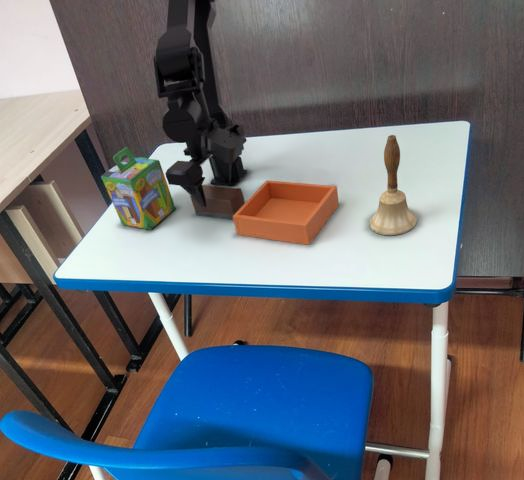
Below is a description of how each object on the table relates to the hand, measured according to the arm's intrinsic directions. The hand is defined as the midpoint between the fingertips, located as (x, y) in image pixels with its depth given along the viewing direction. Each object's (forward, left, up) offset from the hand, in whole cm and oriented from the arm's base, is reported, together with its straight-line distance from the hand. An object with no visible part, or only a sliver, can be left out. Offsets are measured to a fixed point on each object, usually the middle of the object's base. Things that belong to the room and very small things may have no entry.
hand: (216, 194), depth 108 cm
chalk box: (-16, -5, -4) cm, 17 cm away
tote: (+16, 0, -4) cm, 16 cm away
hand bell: (+36, +3, -4) cm, 36 cm away
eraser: (0, 0, -4) cm, 4 cm away
